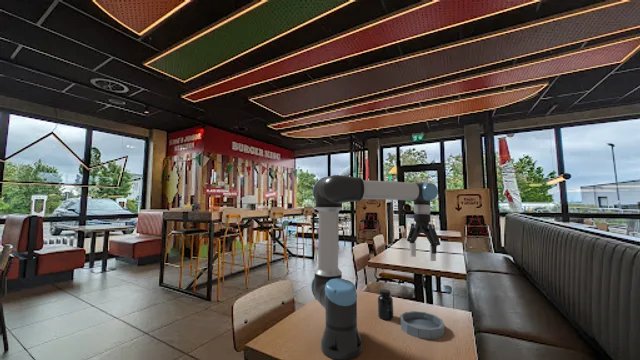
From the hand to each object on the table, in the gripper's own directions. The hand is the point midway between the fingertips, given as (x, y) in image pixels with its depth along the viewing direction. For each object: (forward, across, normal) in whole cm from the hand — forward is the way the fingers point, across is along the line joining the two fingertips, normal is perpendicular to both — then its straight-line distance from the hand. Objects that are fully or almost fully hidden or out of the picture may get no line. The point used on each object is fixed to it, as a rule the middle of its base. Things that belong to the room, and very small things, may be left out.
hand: (422, 258), depth 126 cm
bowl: (+28, -8, +8) cm, 30 cm away
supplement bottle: (+28, +6, +16) cm, 32 cm away
